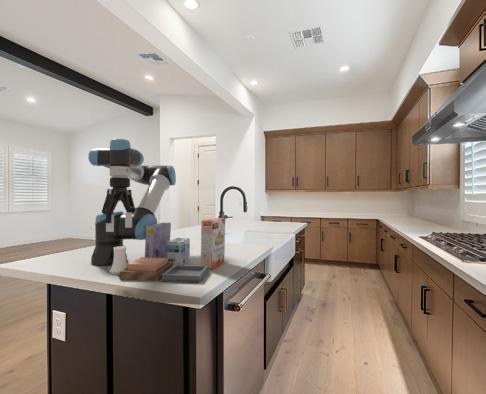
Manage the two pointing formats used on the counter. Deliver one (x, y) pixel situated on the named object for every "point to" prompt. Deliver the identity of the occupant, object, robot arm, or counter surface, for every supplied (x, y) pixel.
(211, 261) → the cracker box
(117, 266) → the vase
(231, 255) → the counter surface
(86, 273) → the counter surface
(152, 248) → the cake pan box
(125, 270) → the wooden square frame
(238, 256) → the counter surface
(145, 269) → the orange square slab
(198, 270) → the tray
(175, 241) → the light bulb box
